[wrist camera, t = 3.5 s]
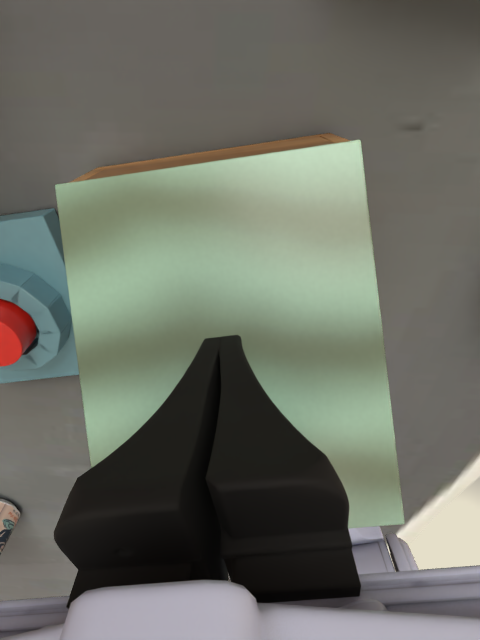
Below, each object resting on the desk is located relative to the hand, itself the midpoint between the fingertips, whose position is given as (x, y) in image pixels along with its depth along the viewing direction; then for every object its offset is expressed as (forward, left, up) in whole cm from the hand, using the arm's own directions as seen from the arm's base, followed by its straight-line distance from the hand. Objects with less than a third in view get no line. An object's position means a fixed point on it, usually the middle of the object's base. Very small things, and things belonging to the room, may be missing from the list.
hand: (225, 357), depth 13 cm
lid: (-1, 0, -1) cm, 1 cm away
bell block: (-1, +13, -10) cm, 17 cm away
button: (-1, +13, -7) cm, 15 cm away
